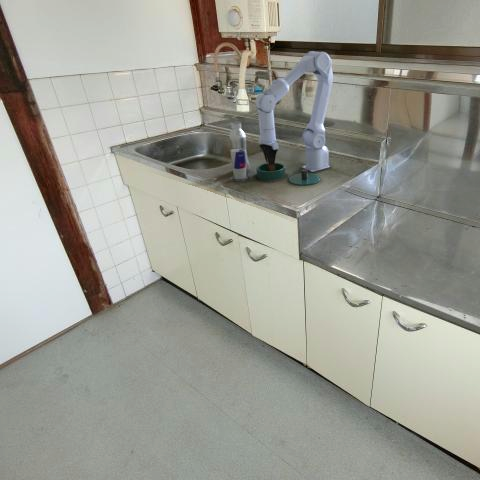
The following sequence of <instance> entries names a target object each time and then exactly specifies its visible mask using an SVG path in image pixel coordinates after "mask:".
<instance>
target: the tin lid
mask: <svg viewBox="0 0 480 480" xmlns="http://www.w3.org/2000/svg"><path fill="white" fill-rule="evenodd" d="M300 171H301V172H299V173H296V174H293V175H291V176H290V177H289V178H288V181H289V183H290V184H292V185H295V186H304V187H305V186H311V185H312V186H313V185H316V184H318V183H319V182H321V176H320V175H318V174H316V173H311V172H308V171H309V170H307V169H305V168H302V169H301V170H300Z"/></svg>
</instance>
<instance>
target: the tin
mask: <svg viewBox="0 0 480 480" xmlns="http://www.w3.org/2000/svg"><path fill="white" fill-rule="evenodd" d="M274 168H275V171H268V168H267V162H264V163H261V164H259V165H257V166H256V176H257V178H258V180H262V181H278V180H281V179H283V178H285V177H286V165H285V164H284V163H281V162H275V164H274Z"/></svg>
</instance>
